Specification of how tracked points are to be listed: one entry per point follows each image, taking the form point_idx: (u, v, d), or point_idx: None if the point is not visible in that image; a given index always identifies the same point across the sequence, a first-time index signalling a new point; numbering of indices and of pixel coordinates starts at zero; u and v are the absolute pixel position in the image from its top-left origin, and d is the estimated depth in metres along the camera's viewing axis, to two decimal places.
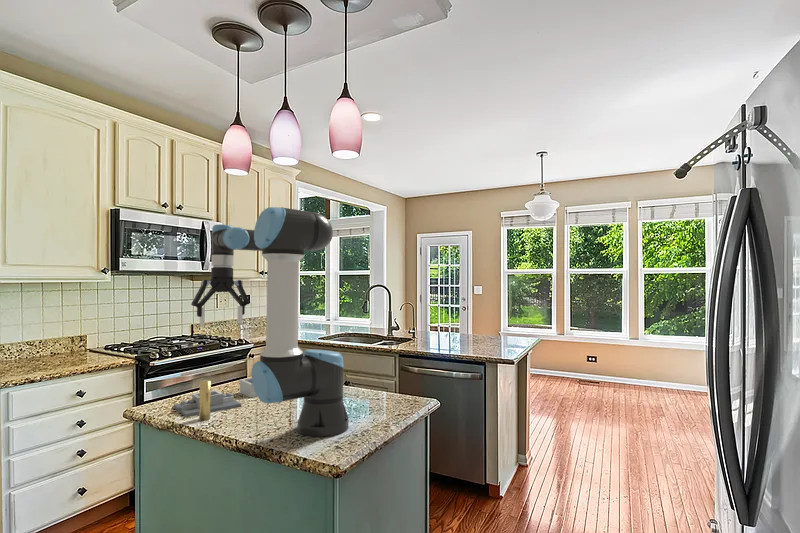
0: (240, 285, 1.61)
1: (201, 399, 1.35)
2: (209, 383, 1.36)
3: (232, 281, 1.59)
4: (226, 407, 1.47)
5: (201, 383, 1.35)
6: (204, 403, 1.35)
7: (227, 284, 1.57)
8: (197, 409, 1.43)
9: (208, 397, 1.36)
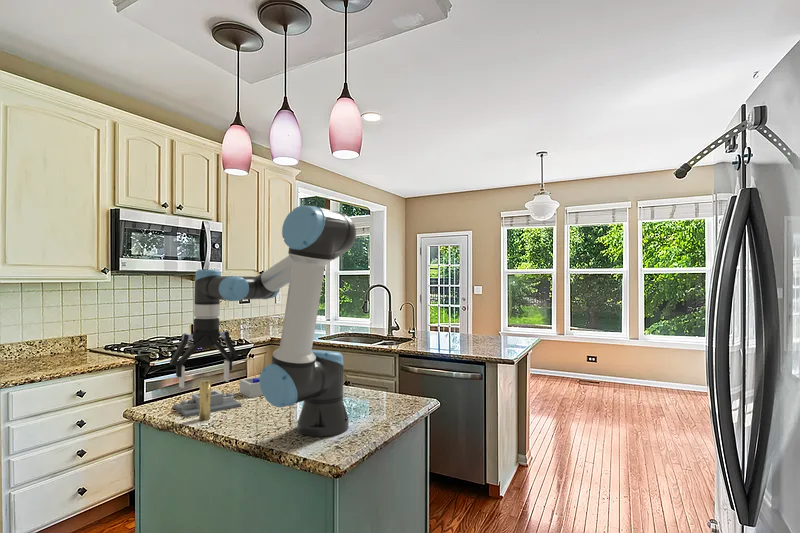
0: (227, 337, 1.41)
1: (201, 399, 1.35)
2: (209, 383, 1.36)
3: (218, 333, 1.39)
4: (226, 407, 1.47)
5: (201, 383, 1.35)
6: (204, 403, 1.35)
7: (212, 338, 1.37)
8: (197, 409, 1.43)
9: (208, 397, 1.36)
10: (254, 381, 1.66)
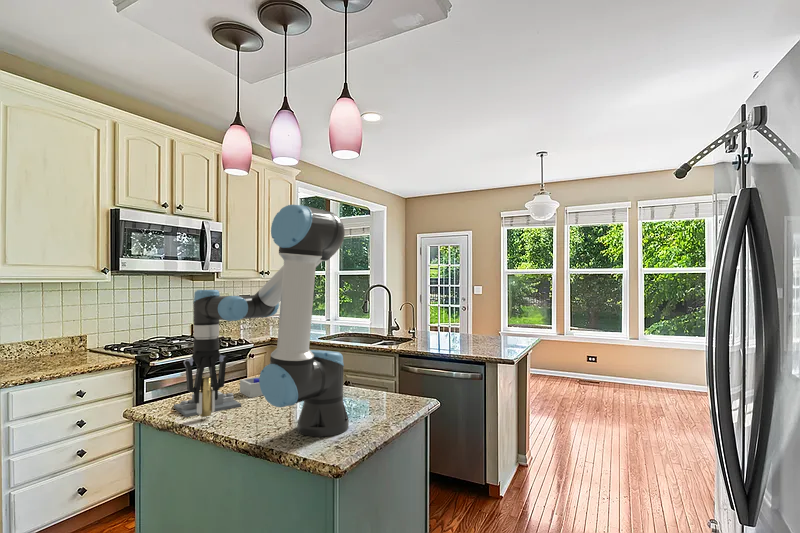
0: (224, 362, 1.40)
1: None
2: (210, 379, 1.36)
3: (218, 354, 1.39)
4: (226, 407, 1.47)
5: (202, 379, 1.35)
6: (204, 399, 1.35)
7: (212, 358, 1.36)
8: None
9: (209, 393, 1.36)
10: (255, 381, 1.66)
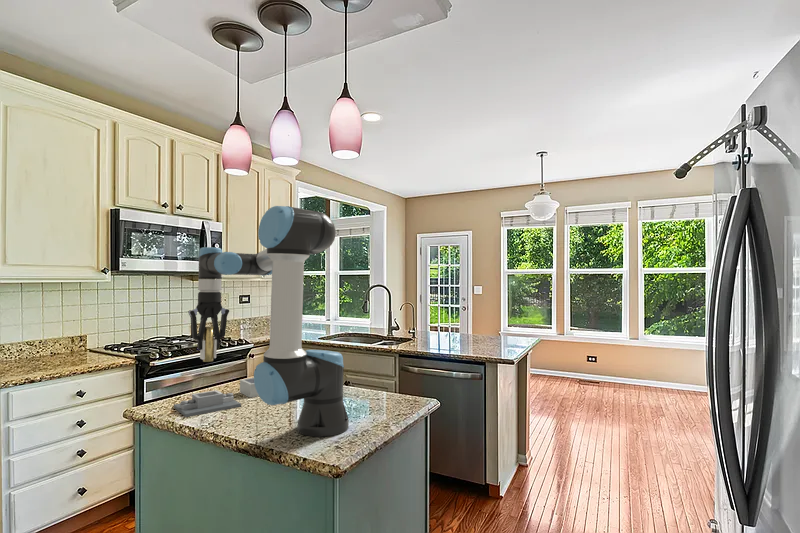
0: (225, 314, 1.53)
1: None
2: (212, 328, 1.50)
3: (220, 307, 1.52)
4: (226, 407, 1.47)
5: (205, 328, 1.49)
6: (207, 346, 1.49)
7: (214, 309, 1.50)
8: (197, 409, 1.43)
9: (211, 341, 1.50)
10: None
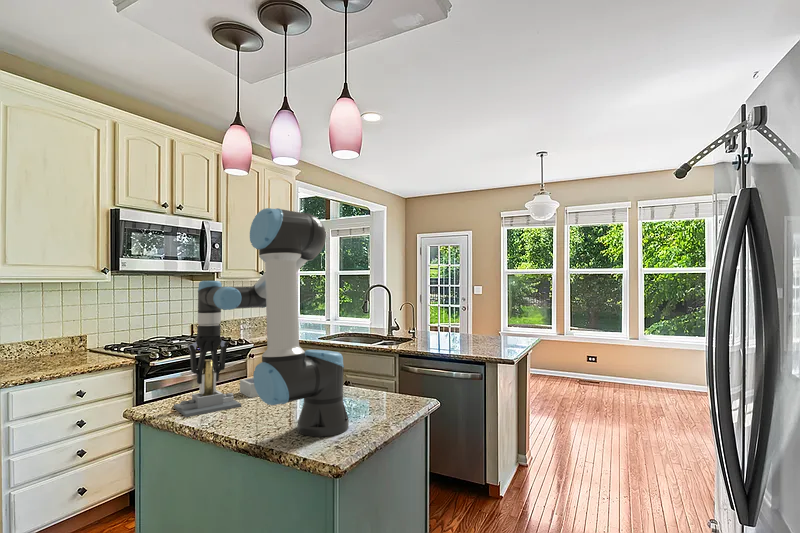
0: (225, 347, 1.53)
1: None
2: (211, 362, 1.50)
3: (220, 339, 1.52)
4: (226, 407, 1.47)
5: (204, 362, 1.49)
6: (206, 380, 1.48)
7: (214, 343, 1.50)
8: (197, 409, 1.43)
9: (211, 374, 1.49)
10: None
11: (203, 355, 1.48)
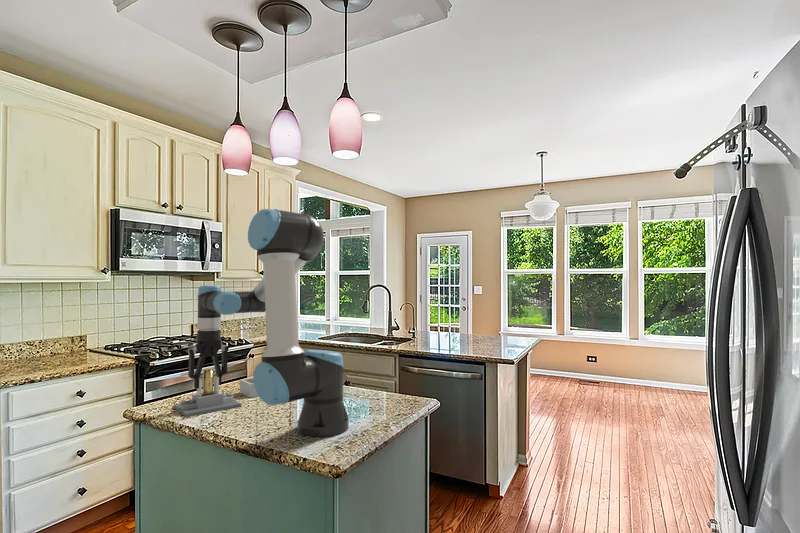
0: (225, 351, 1.53)
1: (204, 386, 1.48)
2: (212, 371, 1.49)
3: (220, 344, 1.52)
4: (226, 407, 1.47)
5: (204, 371, 1.48)
6: (207, 389, 1.48)
7: (214, 348, 1.50)
8: (197, 409, 1.43)
9: (211, 384, 1.49)
10: None
11: (202, 360, 1.47)
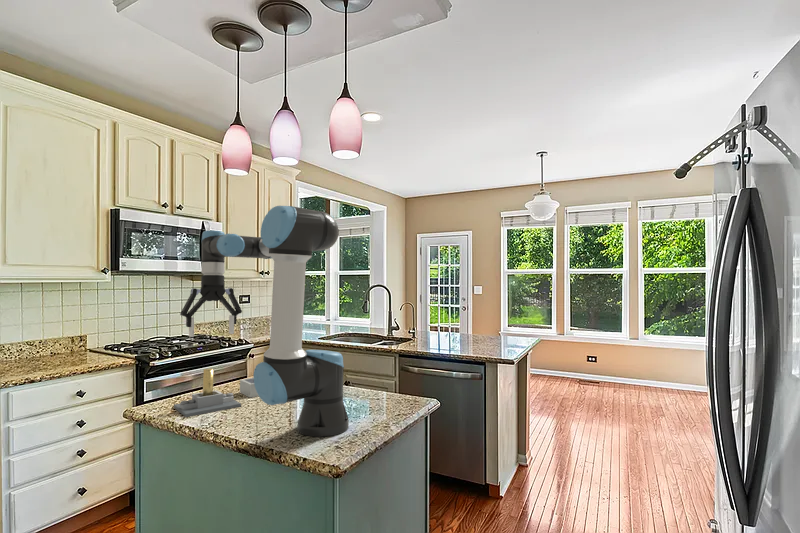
0: (232, 293, 1.54)
1: (204, 386, 1.48)
2: (212, 371, 1.50)
3: (223, 289, 1.53)
4: (226, 407, 1.47)
5: (205, 371, 1.49)
6: (207, 389, 1.48)
7: (218, 292, 1.50)
8: (197, 409, 1.43)
9: (211, 384, 1.49)
10: None
11: (201, 301, 1.47)
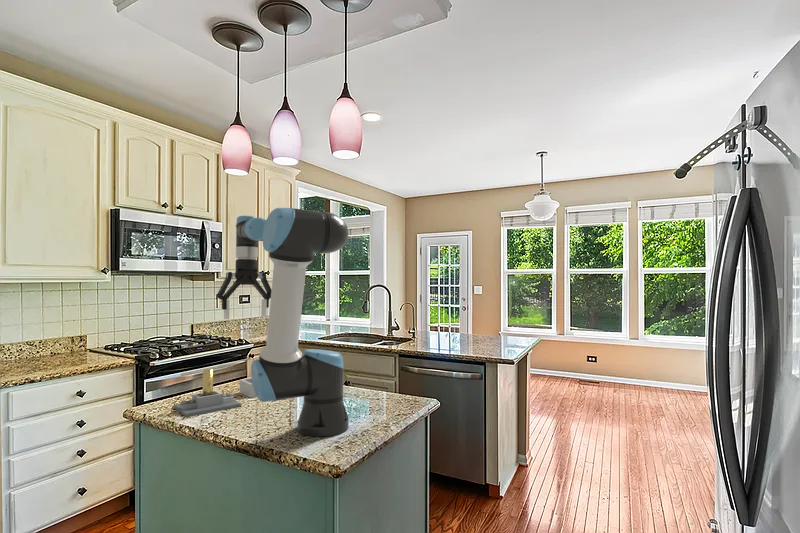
0: (264, 278, 1.58)
1: (204, 386, 1.48)
2: (211, 371, 1.49)
3: (256, 273, 1.56)
4: (226, 407, 1.47)
5: (204, 371, 1.48)
6: (206, 389, 1.48)
7: (252, 276, 1.54)
8: (197, 409, 1.43)
9: (210, 384, 1.49)
10: None
11: (236, 285, 1.51)
